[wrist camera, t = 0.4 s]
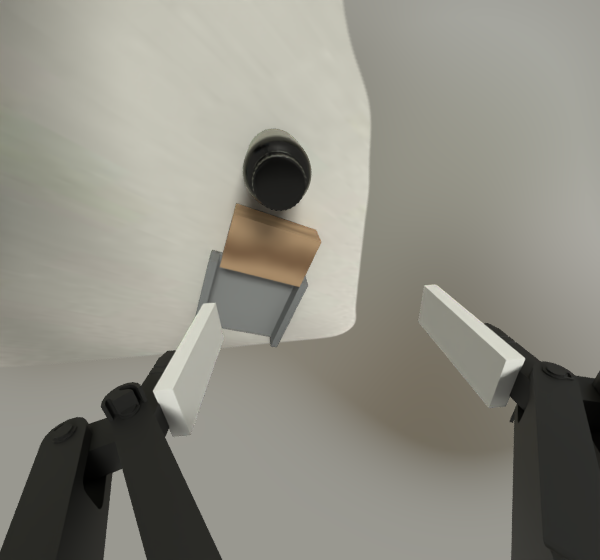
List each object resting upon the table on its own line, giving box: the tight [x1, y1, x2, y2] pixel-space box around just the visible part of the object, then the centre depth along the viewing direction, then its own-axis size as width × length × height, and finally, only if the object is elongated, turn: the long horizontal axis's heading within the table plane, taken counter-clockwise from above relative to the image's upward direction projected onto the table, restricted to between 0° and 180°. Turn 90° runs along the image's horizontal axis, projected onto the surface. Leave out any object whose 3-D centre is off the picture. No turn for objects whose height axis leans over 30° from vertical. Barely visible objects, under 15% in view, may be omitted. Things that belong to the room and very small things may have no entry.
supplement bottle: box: [243, 129, 311, 211], centre depth 27 cm, size 7×7×12 cm
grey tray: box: [195, 250, 308, 347], centre depth 43 cm, size 15×15×3 cm
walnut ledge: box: [220, 203, 321, 287], centre depth 37 cm, size 8×12×4 cm, turn 68°
